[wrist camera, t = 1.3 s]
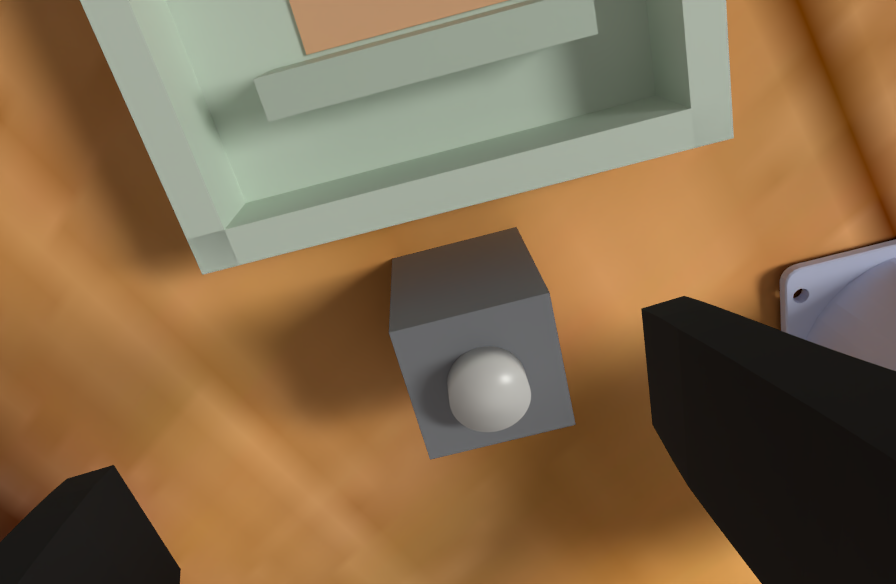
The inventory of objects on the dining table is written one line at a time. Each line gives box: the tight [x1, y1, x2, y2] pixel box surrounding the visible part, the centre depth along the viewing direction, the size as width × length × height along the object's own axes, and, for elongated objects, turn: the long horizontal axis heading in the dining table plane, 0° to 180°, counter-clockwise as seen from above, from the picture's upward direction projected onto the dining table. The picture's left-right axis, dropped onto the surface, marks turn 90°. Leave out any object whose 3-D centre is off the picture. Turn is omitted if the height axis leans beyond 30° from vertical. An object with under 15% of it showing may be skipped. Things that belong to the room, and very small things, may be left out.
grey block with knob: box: [389, 227, 576, 459], centre depth 18 cm, size 4×4×6 cm
